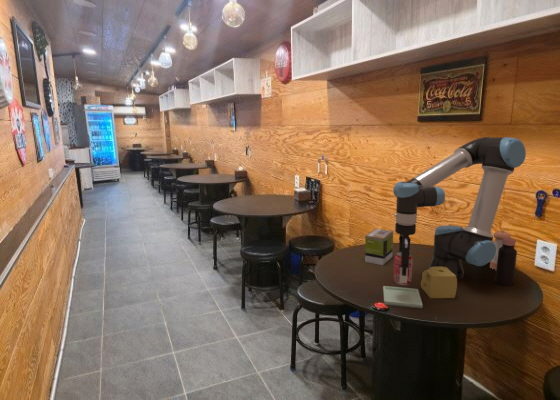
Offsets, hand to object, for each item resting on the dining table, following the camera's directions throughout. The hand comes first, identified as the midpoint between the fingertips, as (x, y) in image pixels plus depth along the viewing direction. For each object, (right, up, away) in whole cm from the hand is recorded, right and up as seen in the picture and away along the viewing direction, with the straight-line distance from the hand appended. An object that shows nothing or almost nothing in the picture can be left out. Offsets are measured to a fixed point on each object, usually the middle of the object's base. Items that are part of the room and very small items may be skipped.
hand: (402, 278), depth 142 cm
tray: (0, -8, +2) cm, 9 cm away
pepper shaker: (+57, -2, +30) cm, 65 cm away
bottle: (+50, -5, +15) cm, 52 cm away
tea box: (+3, 0, +45) cm, 45 cm away
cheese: (+17, -8, +6) cm, 19 cm away
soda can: (0, -2, 0) cm, 2 cm away
